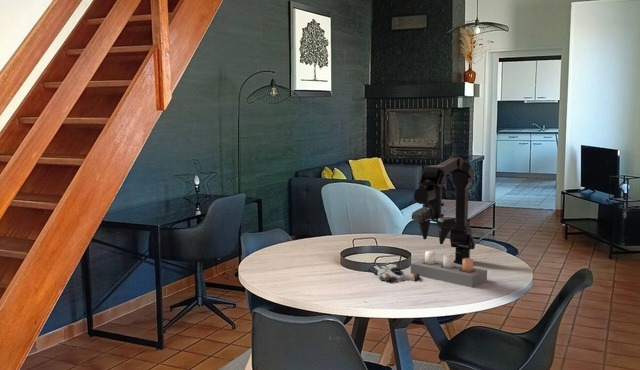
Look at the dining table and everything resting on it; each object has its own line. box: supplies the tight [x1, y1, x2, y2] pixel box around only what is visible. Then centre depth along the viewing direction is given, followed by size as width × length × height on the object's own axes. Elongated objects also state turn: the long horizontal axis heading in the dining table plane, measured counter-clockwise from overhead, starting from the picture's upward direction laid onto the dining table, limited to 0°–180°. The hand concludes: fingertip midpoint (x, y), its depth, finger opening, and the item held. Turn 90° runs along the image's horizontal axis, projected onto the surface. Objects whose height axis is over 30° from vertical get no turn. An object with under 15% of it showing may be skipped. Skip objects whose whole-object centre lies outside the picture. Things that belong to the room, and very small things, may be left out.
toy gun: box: [368, 262, 421, 284], centre depth 235 cm, size 3×20×15 cm
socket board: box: [410, 258, 488, 288], centre depth 231 cm, size 11×26×4 cm, turn 47°
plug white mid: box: [442, 253, 455, 269], centre depth 231 cm, size 4×4×5 cm
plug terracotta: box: [461, 257, 474, 273], centre depth 225 cm, size 4×4×5 cm
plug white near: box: [424, 250, 436, 265], centre depth 236 cm, size 4×4×5 cm
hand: (432, 241), depth 229 cm, fingers open, 9 cm apart
